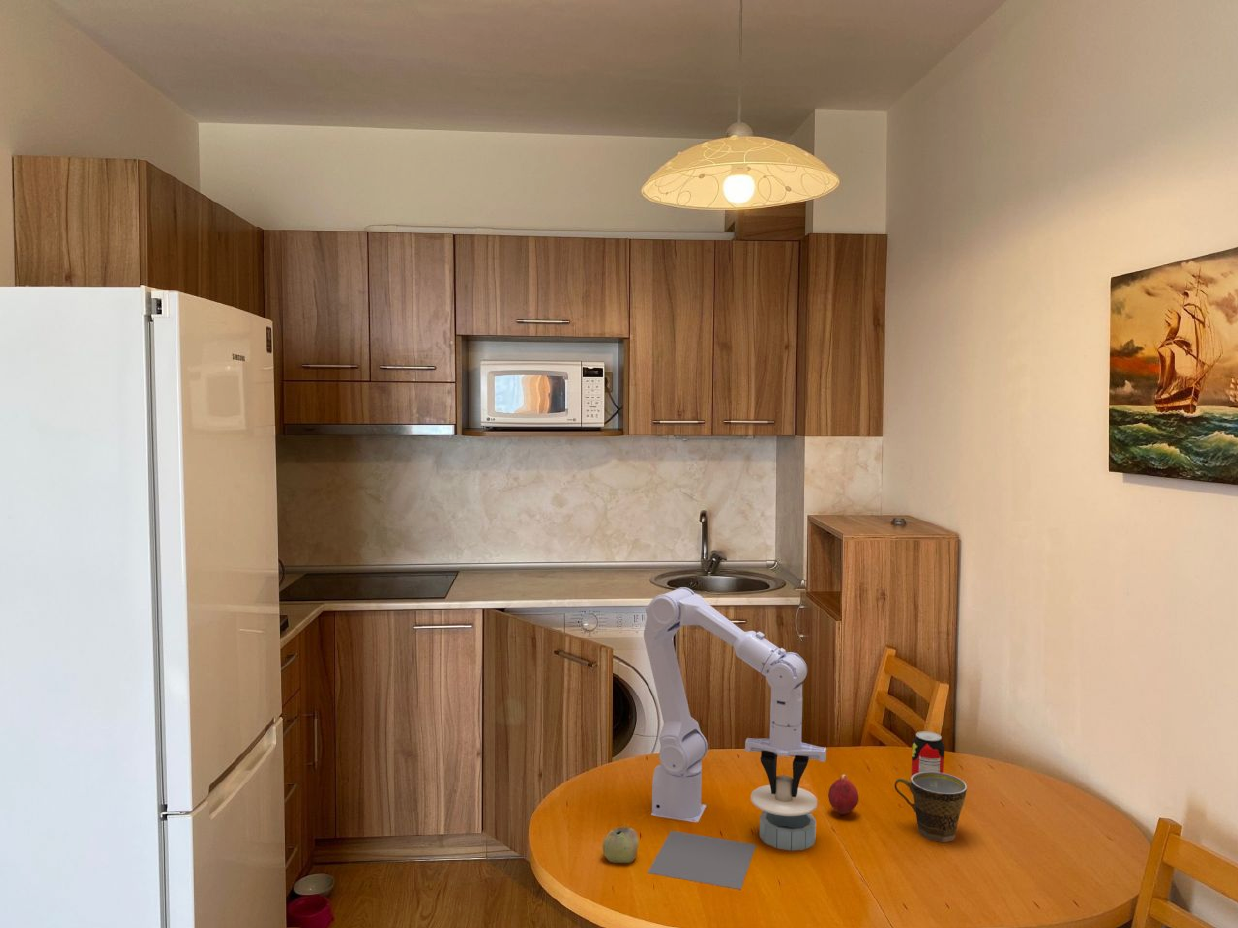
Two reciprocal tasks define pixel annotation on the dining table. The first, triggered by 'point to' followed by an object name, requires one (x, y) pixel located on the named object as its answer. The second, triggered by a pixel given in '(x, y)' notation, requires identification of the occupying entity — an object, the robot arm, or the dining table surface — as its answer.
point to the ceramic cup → (936, 803)
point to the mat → (703, 859)
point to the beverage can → (927, 753)
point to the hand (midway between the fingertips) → (784, 793)
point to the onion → (843, 795)
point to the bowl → (788, 831)
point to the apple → (621, 845)
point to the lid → (784, 799)
